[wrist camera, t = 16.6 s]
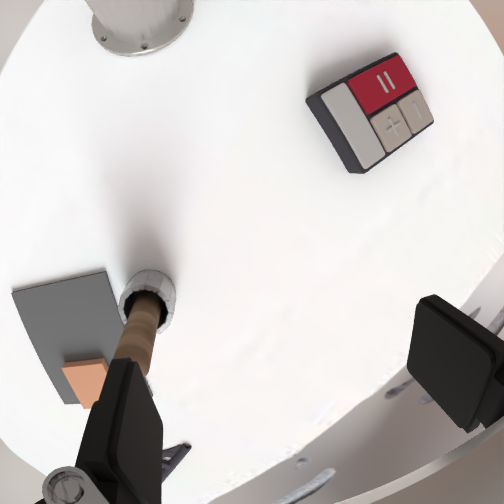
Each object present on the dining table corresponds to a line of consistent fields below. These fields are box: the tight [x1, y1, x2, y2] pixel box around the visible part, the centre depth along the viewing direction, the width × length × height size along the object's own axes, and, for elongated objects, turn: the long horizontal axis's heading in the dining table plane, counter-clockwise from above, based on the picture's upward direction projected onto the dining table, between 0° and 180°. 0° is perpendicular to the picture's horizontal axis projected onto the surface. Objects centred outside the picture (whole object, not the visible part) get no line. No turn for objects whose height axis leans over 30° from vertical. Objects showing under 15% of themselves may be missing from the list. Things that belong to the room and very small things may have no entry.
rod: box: [113, 289, 163, 377], centre depth 30 cm, size 3×3×14 cm
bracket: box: [162, 444, 191, 483], centre depth 44 cm, size 14×15×3 cm
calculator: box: [306, 52, 434, 174], centre depth 34 cm, size 11×4×15 cm
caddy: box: [118, 270, 176, 334], centre depth 35 cm, size 6×6×5 cm
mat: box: [11, 271, 153, 404], centre depth 38 cm, size 20×16×1 cm
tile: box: [62, 358, 109, 409], centre depth 39 cm, size 2×7×8 cm
